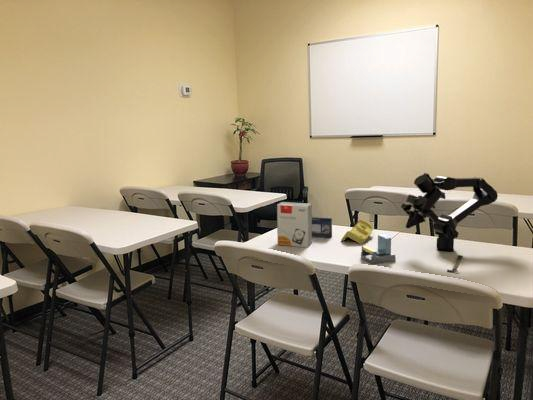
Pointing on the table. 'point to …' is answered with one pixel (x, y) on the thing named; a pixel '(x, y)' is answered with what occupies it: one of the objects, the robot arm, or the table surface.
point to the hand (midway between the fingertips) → (406, 227)
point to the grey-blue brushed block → (384, 245)
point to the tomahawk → (456, 265)
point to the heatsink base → (375, 256)
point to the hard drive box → (294, 224)
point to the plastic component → (359, 232)
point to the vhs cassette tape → (321, 227)
